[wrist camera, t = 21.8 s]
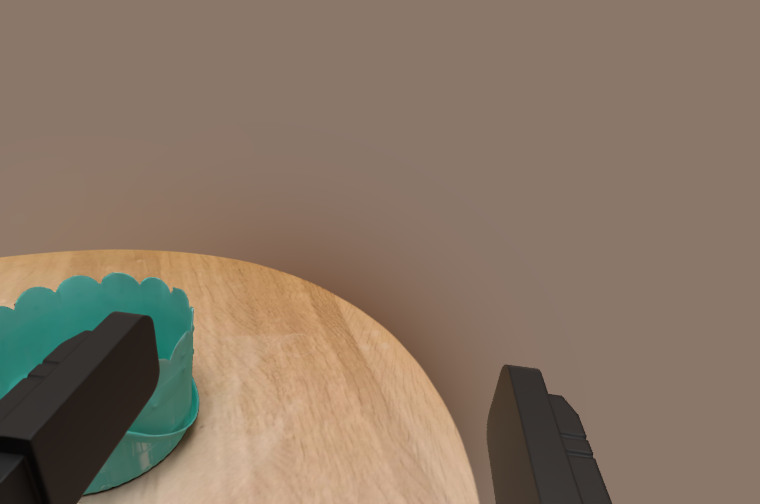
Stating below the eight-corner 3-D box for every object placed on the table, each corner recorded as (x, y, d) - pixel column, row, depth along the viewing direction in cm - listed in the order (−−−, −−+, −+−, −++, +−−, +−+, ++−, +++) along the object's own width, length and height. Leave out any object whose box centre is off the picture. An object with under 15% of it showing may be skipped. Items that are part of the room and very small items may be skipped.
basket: (60, 360, 57) (36, 265, 51) (218, 364, 59) (213, 274, 54) (-55, 510, 40) (-110, 396, 35) (171, 509, 43) (156, 401, 37)
